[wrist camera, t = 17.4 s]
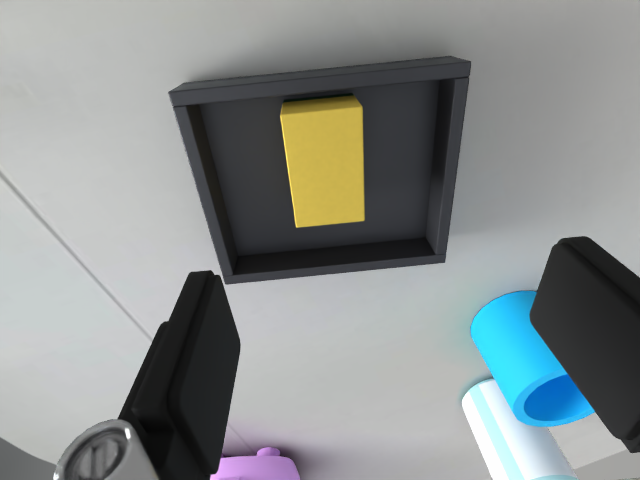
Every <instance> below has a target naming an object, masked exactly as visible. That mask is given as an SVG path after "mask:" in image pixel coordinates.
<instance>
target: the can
mask: <svg viewBox="0 0 640 480" xmlns="http://www.w3.org/2000/svg"><path fill="white" fill-rule="evenodd" d="M462 407H463V410H464V412H465V415H466V417H467V419H468V422H469V424H470V427H471V429H472V431H473V434H474V436H475V438H476V441H477V443H478V446H479V448H480V450H481V453H482V455H483V457H484V460H485V462H486V465H487V467H488V469H489V472H490V474H491V476H492V479H493V480H579V479H578V477H577V476H576V474H575V472H574V470H573V469H572V467H571V465H570V464H569V462H568V461H567V459H566V457H565V456H564V454H563V452H562V451H561V449H560V447H559V446H558V444H557V442H556V441H555V439H554V437H553V436H552V434H551V433H550V431H549V429H548V428H547V427H536V426H531V425H526V424H524V423H522V422H520V421H519V420H517V418H516V417H515V415H514V414H513V412H512V410H511V408H510V406H509V405H508V403H507V401H506V399H505V397H504V395H503V394H502V392H501V390H500V388H499V386H498V384H497V383H496V381H495V379H494V378H493V379H488V380H484V381H482V382H479V383H477V384H476V385H474V386H473V387H472V388H471V389H470V390H469V391H468V392H467V393H466V395H465V396H464V398H463V400H462Z"/></svg>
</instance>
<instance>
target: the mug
mask: <svg viewBox="0 0 640 480" xmlns="http://www.w3.org/2000/svg"><path fill="white" fill-rule="evenodd" d="M536 293H537V292H535V291H518V292H514V293H510V294H506V295H503V296H501V297H499V298H497V299H495V300H493V301H491V302H490V303H489V304H487V305H486V306H485V307H483V308H482V309H481V310H480V311H479V313H478V314H477V315H476V316H475V318H474V320H473V322H472V325H471V337H472V338H473V340H474V342H475V344H476V346H477V348H478V349H479V351H480V353H481V355H482V357H483V359H484V361H485V362H486V364H487V366H488V368H489V370H490V372H491V373H492V375H493V377H494V379H495V381H496V383H497V384H498V386H499V388H500V390H501V392H502V394H503V395H504V397H505V399H506V401H507V403H508V405H509V406H510V408H511V410H512V412H513V414H514V415H515V417H516V418H517V420H519V421H520V422H522V423H524V424H526V425H531V426H536V427H551V426H557V425H563V424H568V423H571V422H574V421H576V420H579V419H582V418H585V417H586V416H588V415H590V414H592V413H594V412H595V411H594V409H593V408H592V407H591V405H590V404H589V403H588V401H587V400H586V398H585V397H584V396H583V394H582V393H581V392H580V390H579V389H578V387H577V386H576V385H575V383H574V382H573V381H572V379H571V378H570V377H569V375H568V374H567V372H566V371H565V370H564V368H563V367H562V366H561V364H560V363H559V361H558V360H557V359H556V357H555V356H554V355H553V353H552V352H551V350H550V349H549V348H548V346H547V345H546V344H545V342H544V341H543V340H542V338H541V337H540V335H539V334H538V333H537V331H536V330H535V329H534V327H533V326H532V324H531V322H530V316H529V314H530V310H531V308H532V305H533V302H534V299H535V296H536Z"/></svg>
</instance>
